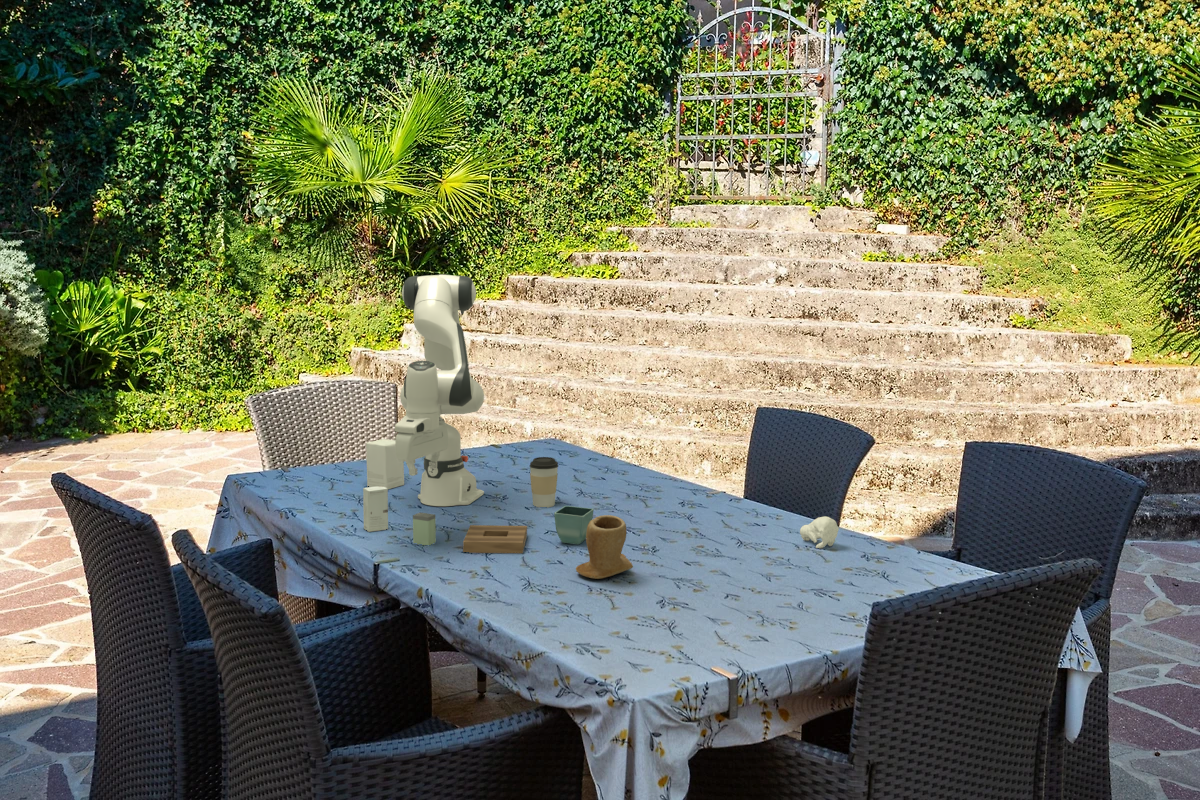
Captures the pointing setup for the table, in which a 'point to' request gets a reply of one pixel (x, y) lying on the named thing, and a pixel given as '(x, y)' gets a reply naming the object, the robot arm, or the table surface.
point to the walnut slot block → (495, 539)
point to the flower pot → (572, 523)
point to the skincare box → (375, 508)
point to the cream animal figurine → (820, 531)
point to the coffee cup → (543, 481)
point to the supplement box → (383, 464)
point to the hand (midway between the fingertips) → (423, 471)
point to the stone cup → (605, 548)
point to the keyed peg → (424, 528)
